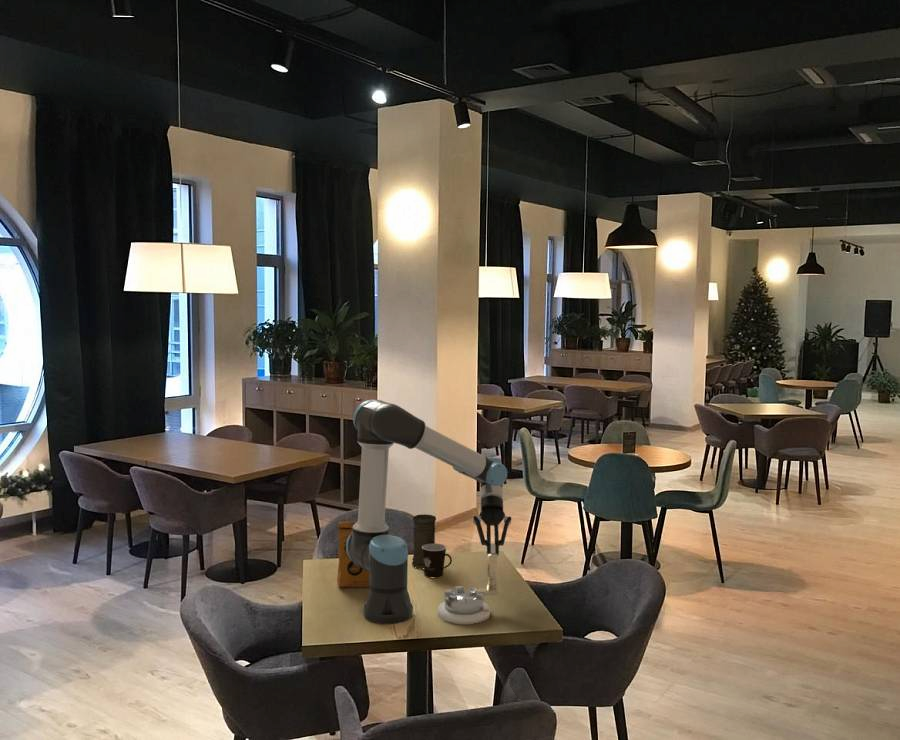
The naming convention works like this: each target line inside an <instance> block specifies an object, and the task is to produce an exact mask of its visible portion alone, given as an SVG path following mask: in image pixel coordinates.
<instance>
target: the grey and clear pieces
mask: <svg viewBox="0 0 900 740" xmlns="http://www.w3.org/2000/svg"><path fill="white" fill-rule="evenodd" d="M486 561H487V563H486V564H487V565H486V566H487V568H486V569H487V571H486V572H487V573H486V575H487V577H486V587H476V586H473V587H470V589H465V587H464V586H463V585H458V586H454V587H455V589H454V590H452V589H446V590H445V591H444V602H445V609H446V610H447V611H448V612H451V613H454V614H460V615H470V614H475V613H479V612H481V611H482V610H483V605H484V603H485V602H484V600H485V599H484V597H490V596H499V590H498V584H497V583H498V556H497V554H496V553H488V555H487V560H486Z"/></svg>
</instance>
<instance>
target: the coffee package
mask: <svg viewBox="0 0 900 740" xmlns="http://www.w3.org/2000/svg"><path fill="white" fill-rule="evenodd" d="M356 522H357V521H338V522H337V523H338V524H337V528H338V541H339V543H338V545H339V546H338V551H337V553H338V566H337V567H338V568H337V575H336V576H337V578H336V583H337V586H338V587H339V588H340V587H343V588H369V585H370V584H369V572H367V571H366V570H364V569H363V568H361V567H359V566H357V565H356V564H355V563H354V562H353V561H352V560H351V559H350V558H349V556H348V554H347V550H346V543H347V539H348V537H349V535H351V533H352V530H353V525H354V524H355V523H356Z"/></svg>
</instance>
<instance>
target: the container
mask: <svg viewBox="0 0 900 740" xmlns="http://www.w3.org/2000/svg"><path fill="white" fill-rule="evenodd" d="M412 521H413V551H412V552H413V554H412V555H413V557H412V562H411V566H412V567H413V566H414V567H413V568H415V567H416V568H415V569H418V568H424V564H423V554H422V546H423V545H426V544H436V527H435V526H436V525H435V524H436V521H437V518H436V515H432V514H416V515H414V516H413V517H412Z"/></svg>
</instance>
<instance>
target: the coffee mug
mask: <svg viewBox="0 0 900 740" xmlns="http://www.w3.org/2000/svg"><path fill="white" fill-rule="evenodd" d="M446 552H447V545H444V544H441V543H435V544H426V545H423V546H422V554H423V564H424V569H423V571H424V576H425V575H426V576H428V577H427V578H429V577H439V578H441V577H440V576H442V575H443V574H444V569H446V568H448V567H449V566H451V564H452V562H453V559H452V557H451V555H450V554H448V553H446ZM446 557H448V558H449V563H448V564H447V565H445V561H446V560H445V559H446ZM426 576H425V577H426ZM442 577H443V576H442Z"/></svg>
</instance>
